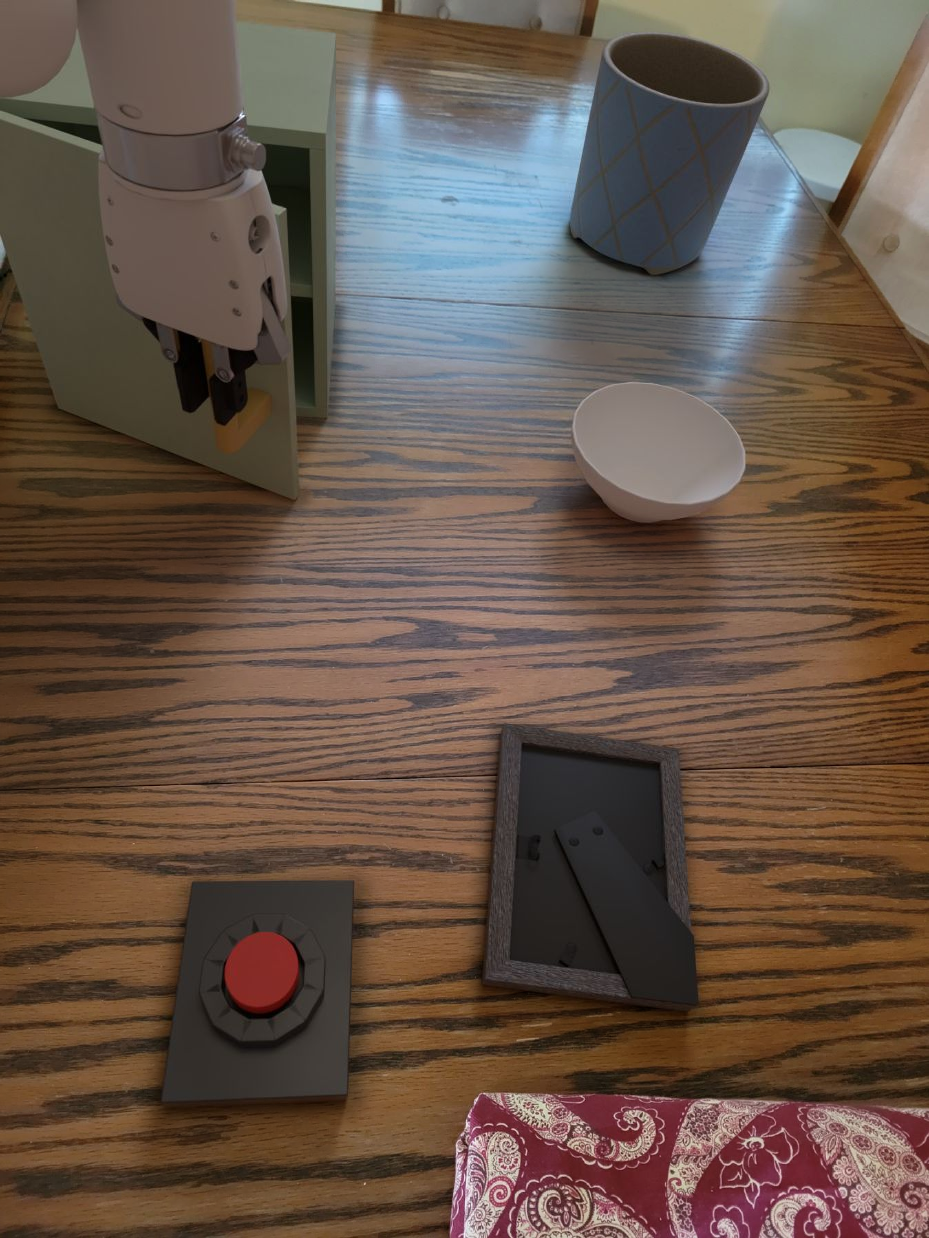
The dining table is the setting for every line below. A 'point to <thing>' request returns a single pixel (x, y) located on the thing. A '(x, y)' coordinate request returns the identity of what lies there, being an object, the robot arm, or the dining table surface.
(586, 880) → the picture frame
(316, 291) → the cabinet
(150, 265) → the robot arm
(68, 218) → the cabinet door
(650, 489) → the bowl
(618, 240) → the planter
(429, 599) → the dining table surface
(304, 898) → the switch block
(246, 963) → the button
